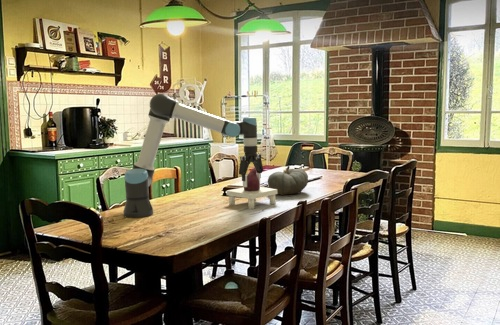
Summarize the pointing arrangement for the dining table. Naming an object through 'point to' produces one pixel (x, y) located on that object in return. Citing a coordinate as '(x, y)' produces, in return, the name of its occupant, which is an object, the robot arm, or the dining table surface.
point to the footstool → (251, 195)
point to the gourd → (288, 181)
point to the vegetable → (252, 181)
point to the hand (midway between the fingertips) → (251, 185)
